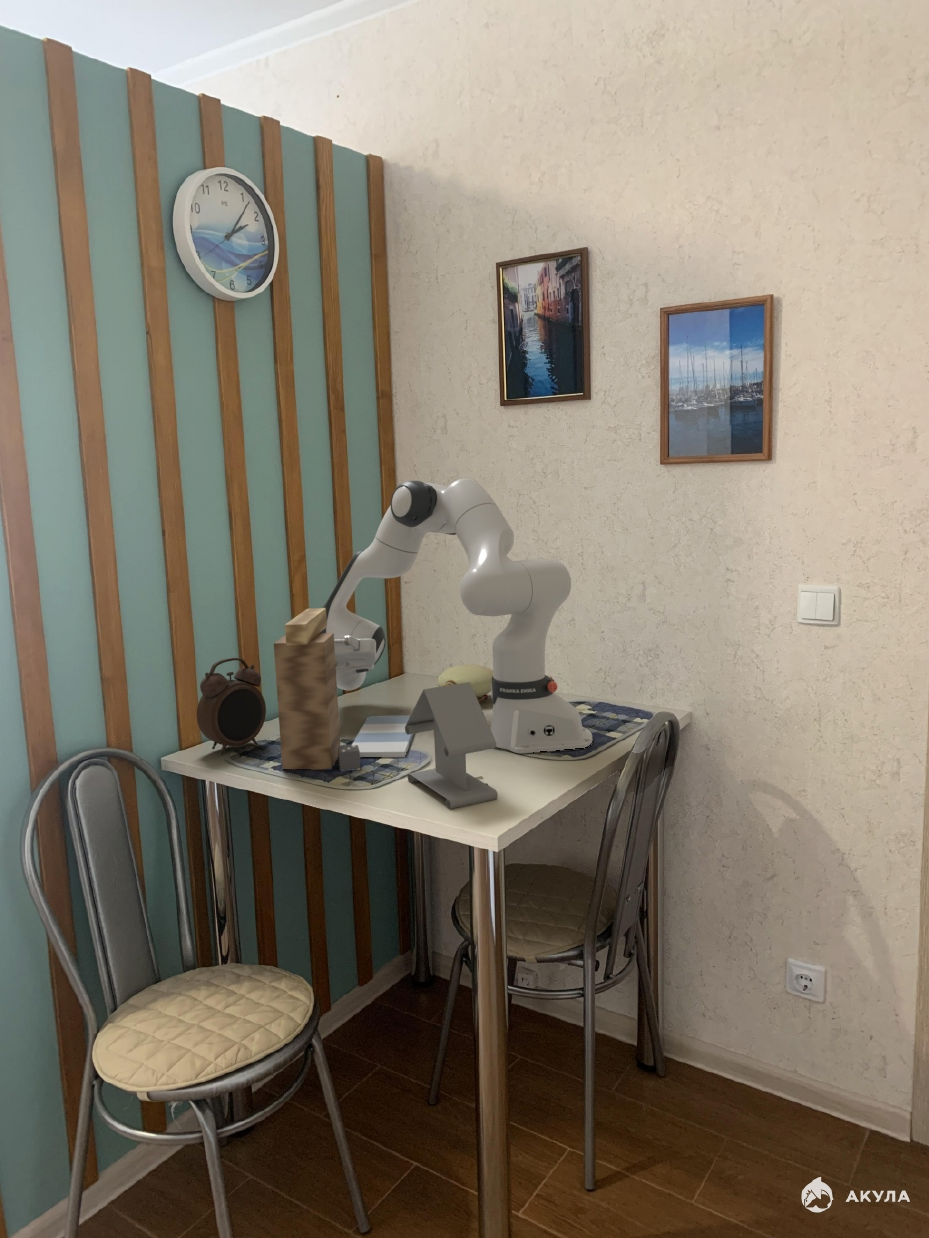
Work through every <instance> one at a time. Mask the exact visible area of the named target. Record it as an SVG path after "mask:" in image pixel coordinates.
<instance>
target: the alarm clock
mask: <svg viewBox="0 0 929 1238" xmlns="http://www.w3.org/2000/svg"><path fill="white" fill-rule="evenodd" d="M233 661H234V662H235V661H238V662H241V664H242V665H243V667H242V668H240V669H238V670H237V672H235V673H234V671H229V672H227V673H226V676H227V677H229V678H226V677H225V676H224V675H223V674H221V673H220V672H215V671H216V668H217V667H218V666H220V665H222V664H224V663H227V662H228V663H229V662H233ZM204 676H205V677H203V679H201V682H200V683H199V689H200V692H201V694H202V695H201V697H200V699H199V701H198V704H197V707H196V719H197V720H196V722H197V725H198V728H199V730H200V732H201V733H202V735H204V737H205V738H207V739H208V740H210V741H212V742H213V744H212V745H213V746H212V748H211V749H212V750H215V749H216V747H217V745H220V746H221V750H220V752H219V754H220V755H223V754H224V752H225V750H226V748H227V747H242V746H245V745H246V744H248V743H250V742H253V743H254V745H255V744H257V745H258V744H259V743H258V742H257V741H256V737H257V736H258V735H259V733H260V732H261V730H262V729H263V726H264V723H265V720H266V715H267V714H266V713H267V707H266V701H265V698H264V695H263V693H262V692H261V691H260V690H259V689H258V688H260V687H261V681H262V677H261V674H260V673H259V672H258V671H257V670H255V664H251V665H248V663H247V662H246V660H244V659H243V658H241V657H229V658H224V659H221V660H220V659H219V660H218V661H216V662H214V663H213V664H212V665H211V668H210V671H209V672H205V673H204ZM232 676H233V679H232Z"/></svg>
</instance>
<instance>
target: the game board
mask: <svg viewBox="0 0 929 1238" xmlns="http://www.w3.org/2000/svg"><path fill="white" fill-rule="evenodd" d="M410 716H411V714H410V715H409V714H408V715H407V714H405V715H403V714H402V715H368V716H367V718H366V720H365V721H364V723H363V725H362V726H361V728H360V730H359V731H358V733H357V735H356V737H355V739H354V741H353V742H352V743H351V745H350V746H353V745H358V747H359V751H360V757H382V758H406V756H407V753H408V751H409V748H410V745H411V743H412V740H413V736H414V734H409V735H407V734H406V732H405V726H406V724H407V722H408V720H409V718H410ZM406 752H407V753H406ZM405 755H406V756H405Z"/></svg>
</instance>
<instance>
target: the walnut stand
mask: <svg viewBox="0 0 929 1238" xmlns="http://www.w3.org/2000/svg"><path fill="white" fill-rule="evenodd" d="M273 651H274V667H275V668H274V669H275V681H276V696H277V710H278V723H279V724H278V725H279V726H278V727H279V740H280V753H281V767H282V770H283V769H292V770H291V771H293V769H294V770H295V769H311V770H327V769H326V768H332V766H333V764H334V763H335V761H336V760H337V761H338V759H339V758H338V757H339V755H338V747H341V733H340V732H341V731H340V717H339V701H338V687H337V681H336V664H335V647H334V633H319V634H318V635H317V636H316V637H314V638H313V639H312V640H311V641H310V642H309V643H308V644H307V645H286V635H285V634H284V635H282V636H281V637H280V638H279V639H277V640H276V641H274V643H273ZM337 758H338V759H337ZM337 761H336V762H337ZM335 764H336V763H335ZM335 764H334V765H335ZM333 767H334V766H333ZM323 768H324V769H323ZM332 769H333V768H332Z"/></svg>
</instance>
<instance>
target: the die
mask: <svg viewBox="0 0 929 1238" xmlns="http://www.w3.org/2000/svg"><path fill="white" fill-rule="evenodd" d="M338 755H339V758H338V766H340V767H339V771H340V770H348V769H357V768H361V758H360V751H359V747H358V745H353V746H351V745H344V746H342V745H341V746H340V747H338Z"/></svg>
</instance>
